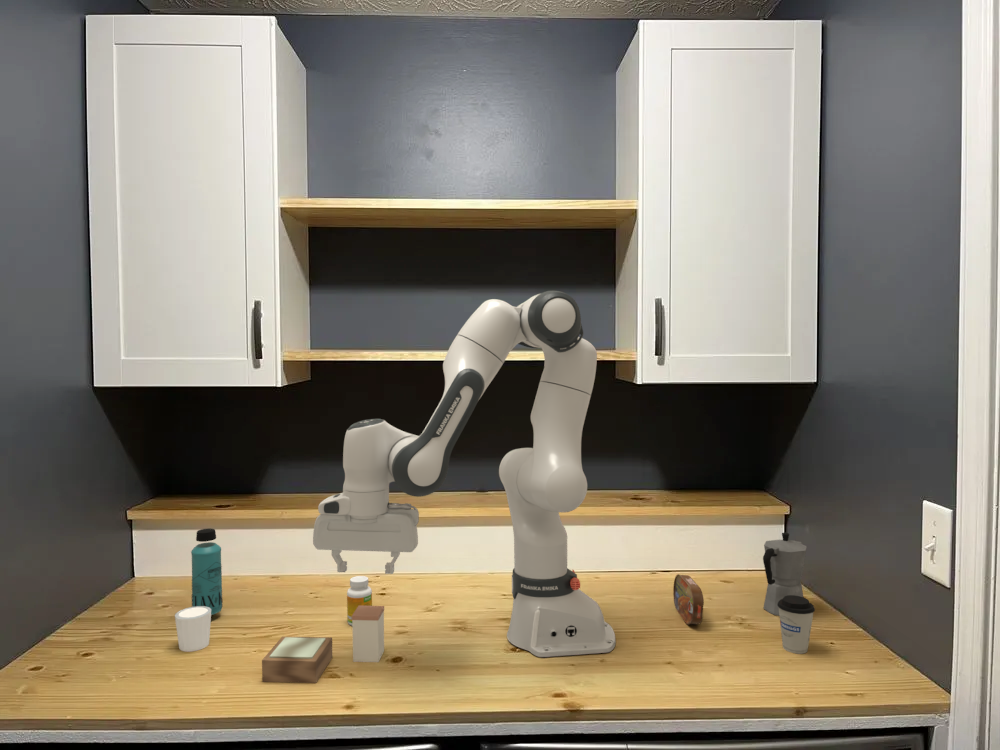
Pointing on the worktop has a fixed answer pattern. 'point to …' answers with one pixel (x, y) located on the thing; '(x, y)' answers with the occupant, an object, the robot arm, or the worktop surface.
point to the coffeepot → (783, 570)
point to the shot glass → (193, 628)
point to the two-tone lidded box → (368, 633)
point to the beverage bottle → (207, 572)
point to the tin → (688, 599)
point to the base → (297, 659)
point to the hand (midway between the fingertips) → (365, 572)
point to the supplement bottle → (358, 595)
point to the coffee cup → (795, 623)
